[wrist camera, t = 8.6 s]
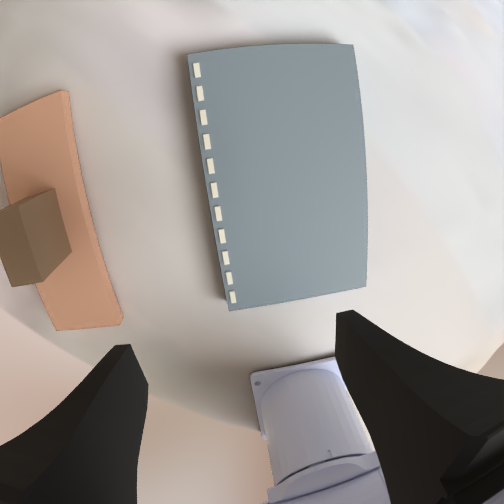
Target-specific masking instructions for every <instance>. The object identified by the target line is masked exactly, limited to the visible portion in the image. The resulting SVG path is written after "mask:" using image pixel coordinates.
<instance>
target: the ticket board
mask: <svg viewBox="0 0 504 504" xmlns="http://www.w3.org/2000/svg"><path fill="white" fill-rule="evenodd" d="M187 57H188V65H189V72H190V80H191V87H192V95H193V102H194V109H195V116H196V123H197V130H198V136H199V143H200V149H201V156H202V162H203V169H204V175H205V181H206V187H207V193H208V199H209V205H210V211H211V217H212V223H213V228H214V234H215V240H216V245H217V251H218V256H219V262H220V267H221V272H222V278H223V283H224V288H225V293H226V299H227V304H228V309H229V311H234V310H241V309H247V308H253V307H259V306H265V305H271V304H277V303H283V302H289V301H294V300H300V299H305V298H311V297H316V296H321V295H327V294H332V293H337V292H342V291H347V290H352V289H357V288H361V287H366V277H367V244H368V204H367V172H366V153H365V139H364V126H363V115H362V105H361V96H360V88H359V80H358V73H357V66H356V59H355V53H354V47H353V45H348V44H317V43H304V44H273V45H258V46H246V47H236V48H227V49H219V50H212V51H205V52H199V53H193V54H187Z"/></svg>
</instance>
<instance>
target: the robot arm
mask: <svg viewBox="0 0 504 504" xmlns="http://www.w3.org/2000/svg"><path fill="white" fill-rule="evenodd" d="M250 380H251V385H252V390H253V395H254V400H255V405H256V410H257V415H258V420H259V425H260V430H261V435H262V438H263V439H266V441H267V446H268V452H269V458H270V464H271V469H272V475H273V481H274V487H271V488H268V489H267V493H268V500H269V501H266V502H263V503H262V504H504V380H502V379H497V378H492V377H488V376H483V375H479V374H475V373H472V372H469V371H466V370H463V369H459V368H456V367H454V366H451V365H448V364H446V363H443V362H441V361H439V360H437V359H434V358H432V357H430V356H428V355H426V354H424V353H422V352H420V351H418V350H416V349H414V348H412V347H410V346H409V345H407V344H405V343H403V342H402V341H400V340H398V339H397V338H395V337H393V336H392V335H390V334H389V333H387V332H386V331H384V330H383V329H381V328H380V327H378V326H377V325H375V324H374V323H372V322H371V321H369V320H368V319H366V318H365V317H363V316H362V315H360V314H359V313H357V312H356V311H354V310H349V311H344V312H340V313H336V343H335V356H334V357H330V358H326V359H321V360H317V361H312V362H307V363H302V364H297V365H292V366H287V367H281V368H276V369H270V370H264V371H258V372H254V373H252V374H251V375H250ZM257 381H259V382H257ZM347 391H349V393H350V395H351V397H352V399H353V401H354V403H355V405H356V407H357V409H358V411H359V413H360V415H361V417H362V419H363V421H364V423H365V425H366V427H367V429H368V432H369V434H370V436H371V439H372V442H373V445H374V448H375V450H376V451H374V452H373V450H372V447H371V445H370V443H369V440H368V438H367V436H366V434H365V431H364V429H363V427H362V424H361V422H360V420H359V418H358V415H357V413H356V411H355V409H354V406H353V404H352V402H351V400H350V397H349V395H348V393H347ZM147 403H148V383H147V380H146V378H145V376H144V374H143V372H142V370H141V367H140V365H139V363H138V361H137V359H136V356H135V354H134V352H133V349H132V347H131V345H130V344H125V345H115V346H114V347H113V348H112V349H111V350H110V351H109V352H108V353H107V354H106V355H105V356H104V357H103V358H102V360H101V361H100V362H99V363H98V364H97V365H96V366H95V367H94V368H93V370H92V371H91V372H90V373H89V374H88V375H87V376H86V377H85V378H84V380H83V381H82V382H81V383H80V384H79V385H78V386H77V387H76V388H75V389H74V390H73V391H72V392H71V393H70V394H69V395H68V396H67V397H66V398H65V399H64V400H63V401H62V402H61V403H60V404H59V405H58V406H57V407H56V408H55V409H53V410H52V411H51V412H50V413H49V414H47V415H46V416H45V417H44V418H43V419H41V420H40V421H39V422H37V423H36V424H34V425H33V426H32V427H30V428H29V429H28V430H26V431H25V432H23V433H22V434H20V435H19V436H17V437H15V438H14V439H12V440H10V441H8V442H7V443H5V444H3V445H1V446H0V504H137V465H138V457H139V451H140V445H141V440H142V434H143V428H144V423H145V418H146V411H147Z"/></svg>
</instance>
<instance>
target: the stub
mask: <svg viewBox="0 0 504 504" xmlns="http://www.w3.org/2000/svg"><path fill="white" fill-rule="evenodd" d="M0 161H1V166H2V171H3V176H4V181H5V186H6V190H7V195H8V199H9V203H10V205H9V206H7V207H5V208H3V209H1V210H0V257H1V260H2V263H3V266H4V268H5V271H6V274H7V276H8V279H9V281H10V284H11V286H12V287H16V286H23V285H29V284H36V286H37V289H38V291H39V294H40V296H41V298H42V301H43V303H44V305H45V308H46V310H47V312H48V314H49V317H50V319H51V321H52V323H53V325H54V327H55V329H56V331H60V330H73V329H85V328H96V327H107V326H117V325H120V324H121V321H122V319H123V315H122V312H121V309H120V307H119V304H118V301H117V298H116V296H115V293H114V290H113V287H112V284H111V281H110V278H109V275H108V272H107V269H106V266H105V262H104V259H103V256H102V253H101V249H100V246H99V243H98V239H97V236H96V232H95V228H94V225H93V221H92V217H91V213H90V209H89V205H88V201H87V197H86V192H85V188H84V183H83V179H82V174H81V169H80V164H79V159H78V154H77V148H76V142H75V136H74V130H73V123H72V116H71V108H70V100H69V91H63V90H60V91H58V92H55V93H53V94H50V95H48V96H46V97H43V98H41V99H39V100H36V101H34V102H32V103H30V104H28V105H25V106H23V107H21V108H19V109H17V110H15V111H13V112H11V113H9V114H7V115H5V116H3V117H1V118H0Z"/></svg>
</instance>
